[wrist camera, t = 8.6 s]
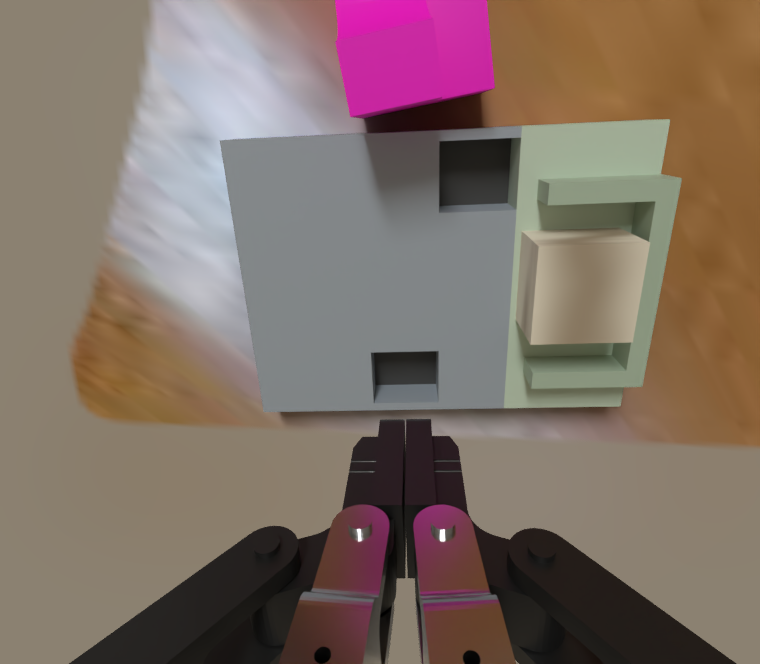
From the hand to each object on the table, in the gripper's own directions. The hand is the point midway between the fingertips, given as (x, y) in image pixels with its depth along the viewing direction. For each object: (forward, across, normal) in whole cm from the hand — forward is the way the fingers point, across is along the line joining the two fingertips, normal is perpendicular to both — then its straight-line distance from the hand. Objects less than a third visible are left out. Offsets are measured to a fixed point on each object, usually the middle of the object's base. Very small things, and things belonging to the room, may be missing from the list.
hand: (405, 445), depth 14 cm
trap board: (+17, -2, 0) cm, 17 cm away
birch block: (+14, -8, -1) cm, 17 cm away
